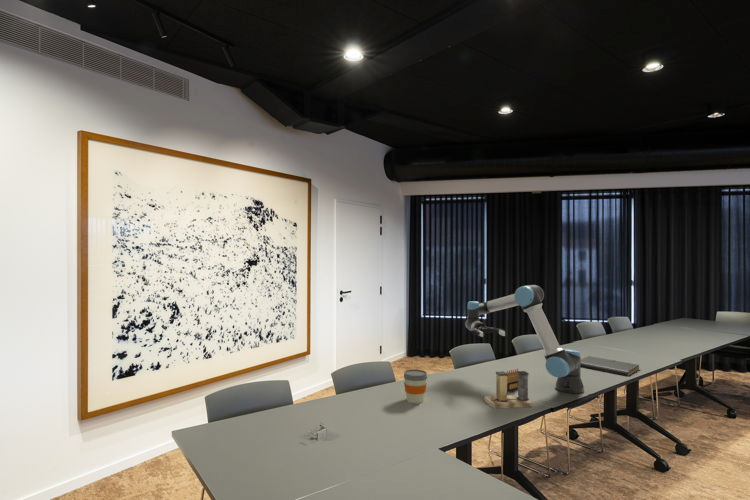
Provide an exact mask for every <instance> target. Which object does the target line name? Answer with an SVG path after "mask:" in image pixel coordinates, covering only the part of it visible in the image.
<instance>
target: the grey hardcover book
mask: <svg viewBox="0 0 750 500" xmlns="http://www.w3.org/2000/svg"><path fill="white" fill-rule="evenodd" d="M581 368H584V369H589V370H594V371H598V372H599V371H600V372H604V373H610V374H614V375H615V374H616V375H620V376H625V377H629V376H631V375H632V374H634V373H636V372H638V371H639V370H640V364H638V363H637V364H636V363H631V362H625V361H619V360H615V359H613V360H612V359H608V358H601V357H597V356H590V355H589V356H585V357H584V358H581Z"/></svg>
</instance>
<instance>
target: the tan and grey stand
mask: <svg viewBox="0 0 750 500" xmlns="http://www.w3.org/2000/svg"><path fill="white" fill-rule="evenodd" d="M516 371H517V370H516ZM517 373H518V390H517V394H513V395H508V394H507V400H506V401H499V400H498V399H497V398H496V395H492V396H491V395H490V396H484V400H483V401H485V403H487V404H488V405H489V407H491V408H493V409H508V408H509V409H510V408H511V407H513V408H527V406H532V407H533V402H532V401H530V398H529V396H528V395H529V393H528V392H529V391H528V390H529V387H528V386H529V373H530V372H527V371H526V370H518V371H517ZM511 409H512V408H511Z"/></svg>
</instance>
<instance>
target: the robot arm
mask: <svg viewBox="0 0 750 500" xmlns="http://www.w3.org/2000/svg"><path fill="white" fill-rule="evenodd" d="M544 298H545V291H544V290H543V288H541V286H539V285H536V284H530V285H523V286H520V287H518V288H516V290H515V291H514V293H512V294H509V295H506V296H503V297H502V296H501V297H499V298H495V299H491V300H488V301H485V302H479V301H478V300H477V301H475V300H472V301H468V302H467V307H466V308H467V310H466V311H467V319H466V321H465V323H464V325H465V327H466V329H468V331H470V332H471V334H472V335H475V337H477V336H479V337H481V338H483V337H484V335H485V334H491V333H492V334H498V335H500V336H502V337H506V331H505V329H504V328H497V327H494V326H491V327H489V326H487V324H485V323H483V322H481V321H480V316H481V315H487V314H490V313H493V312H497V311H501V310H505V309H510V308H513V307H516V306H517V307H518V306H519V307H521V309H522V311H523V312H524V313H527V315H528V317H529V319H530V322H531V324H532V326H533V328H534V330H535V331H534V332H535V333H536V334H537V338H538V340H539V342H540V344H541V346H542V348H543V350H544V352H545V353H544V355H543V356H544V358H545V359H544V360H545V370H546V371H547V373H549V375H551V376H552V377H555V378H557V379H556V381H555V389H556V390H558V391H560V392H564V393H568V394H582V393H584V391H585V387H584V384H583V380H582V377H581V375H582V373H581V368H582V367H581V359H582V357H581V352H580V351H578V350H575V349H568V348H563V347H561V346H560V344H559V342H558V340H557V338H556V335H555V333H554V330H553V329H552V326H551V325H550V323H549V321H548V318H547V316H546V314H545V313H544V310H543V307H542V306H543V300H544Z"/></svg>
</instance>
